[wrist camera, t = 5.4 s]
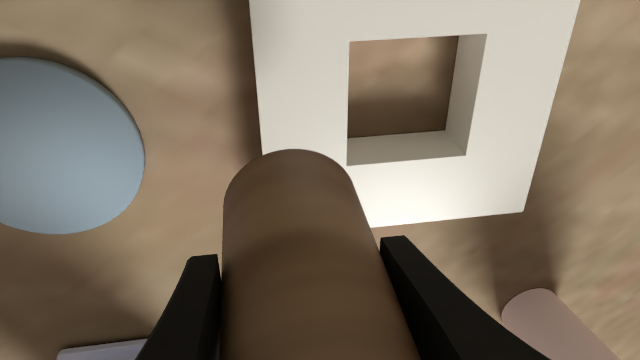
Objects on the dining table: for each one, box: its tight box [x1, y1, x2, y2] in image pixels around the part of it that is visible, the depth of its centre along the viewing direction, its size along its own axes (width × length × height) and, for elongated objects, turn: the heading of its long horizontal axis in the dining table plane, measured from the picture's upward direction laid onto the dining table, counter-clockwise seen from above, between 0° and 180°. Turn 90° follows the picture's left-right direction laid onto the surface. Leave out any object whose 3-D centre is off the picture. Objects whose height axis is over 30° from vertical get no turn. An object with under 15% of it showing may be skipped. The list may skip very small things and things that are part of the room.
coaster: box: [0, 57, 145, 234], centre depth 20 cm, size 8×8×1 cm
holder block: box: [249, 0, 580, 228], centre depth 20 cm, size 12×12×2 cm
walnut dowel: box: [219, 149, 421, 360], centre depth 11 cm, size 4×4×8 cm
